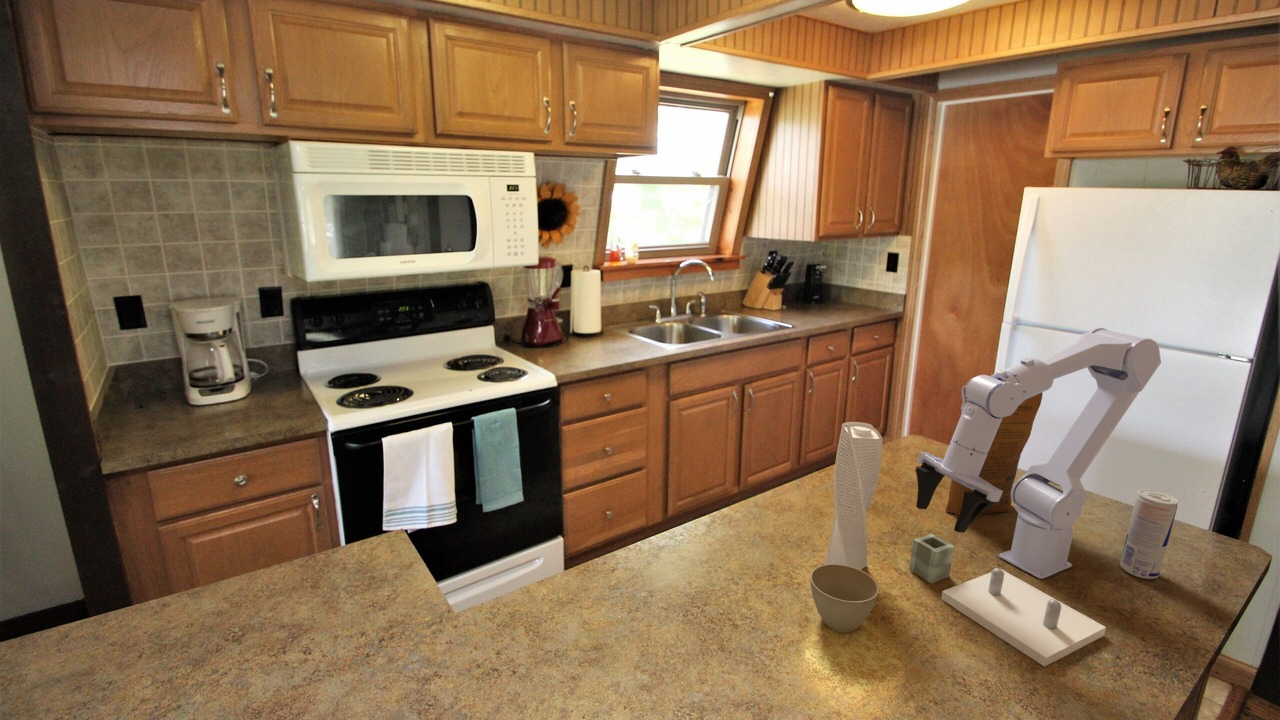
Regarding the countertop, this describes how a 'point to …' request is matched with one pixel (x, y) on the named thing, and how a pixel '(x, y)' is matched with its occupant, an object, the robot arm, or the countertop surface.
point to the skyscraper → (854, 492)
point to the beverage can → (1148, 533)
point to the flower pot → (843, 595)
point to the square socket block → (931, 558)
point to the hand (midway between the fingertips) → (939, 519)
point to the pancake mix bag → (1002, 457)
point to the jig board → (1023, 616)
